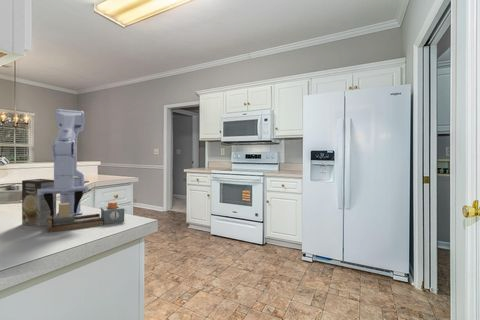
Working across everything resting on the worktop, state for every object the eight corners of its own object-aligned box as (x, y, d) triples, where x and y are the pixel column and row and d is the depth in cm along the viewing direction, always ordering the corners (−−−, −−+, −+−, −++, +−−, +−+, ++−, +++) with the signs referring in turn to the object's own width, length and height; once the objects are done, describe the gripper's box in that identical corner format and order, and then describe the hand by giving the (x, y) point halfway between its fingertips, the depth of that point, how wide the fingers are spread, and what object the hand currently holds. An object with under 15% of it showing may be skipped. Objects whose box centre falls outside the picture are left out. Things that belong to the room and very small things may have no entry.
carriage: (53, 221, 88) (53, 203, 87) (73, 219, 91) (73, 201, 91) (53, 225, 84) (53, 206, 84) (74, 222, 87) (74, 204, 87)
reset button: (107, 212, 97) (107, 202, 97) (116, 211, 99) (116, 201, 99) (108, 214, 95) (108, 203, 95) (118, 213, 97) (118, 202, 96)
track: (48, 225, 88) (48, 216, 88) (99, 219, 98) (99, 210, 98) (47, 232, 81) (47, 222, 81) (102, 224, 91) (103, 215, 91)
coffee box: (20, 224, 89) (20, 180, 89) (39, 220, 96) (39, 178, 95) (39, 227, 87) (39, 181, 86) (57, 222, 93) (57, 179, 93)
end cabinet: (100, 219, 98) (101, 207, 97) (120, 217, 102) (120, 205, 102) (104, 224, 92) (104, 210, 92) (124, 221, 96) (124, 208, 96)
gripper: (36, 177, 79) (36, 219, 80) (89, 175, 88) (89, 213, 89) (37, 175, 85) (37, 214, 85) (87, 173, 94) (87, 209, 94)
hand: (64, 213), depth 87 cm, fingers open, 6 cm apart
